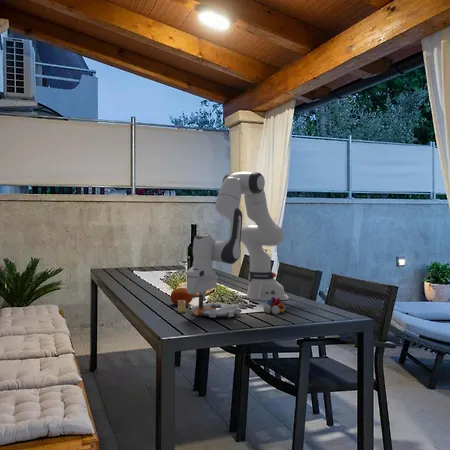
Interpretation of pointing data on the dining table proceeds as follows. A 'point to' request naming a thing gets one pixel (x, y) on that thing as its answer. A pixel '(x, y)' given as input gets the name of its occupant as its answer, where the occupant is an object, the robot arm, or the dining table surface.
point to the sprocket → (215, 309)
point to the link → (181, 305)
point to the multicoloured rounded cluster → (274, 306)
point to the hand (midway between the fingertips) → (202, 300)
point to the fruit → (180, 295)
